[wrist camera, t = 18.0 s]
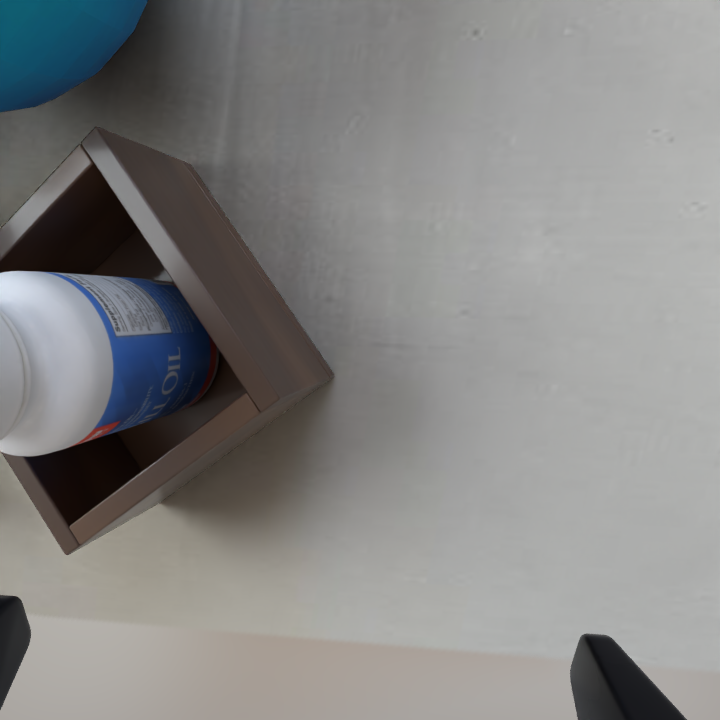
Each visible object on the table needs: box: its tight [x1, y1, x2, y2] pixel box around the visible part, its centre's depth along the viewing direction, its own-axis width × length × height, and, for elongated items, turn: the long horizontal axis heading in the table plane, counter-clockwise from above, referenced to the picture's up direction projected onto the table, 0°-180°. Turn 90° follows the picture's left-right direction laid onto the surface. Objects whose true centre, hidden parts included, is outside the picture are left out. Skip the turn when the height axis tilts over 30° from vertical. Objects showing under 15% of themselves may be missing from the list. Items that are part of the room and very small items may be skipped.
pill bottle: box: [0, 271, 220, 456], centre depth 18 cm, size 6×5×10 cm
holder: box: [0, 127, 334, 555], centre depth 20 cm, size 10×10×5 cm
